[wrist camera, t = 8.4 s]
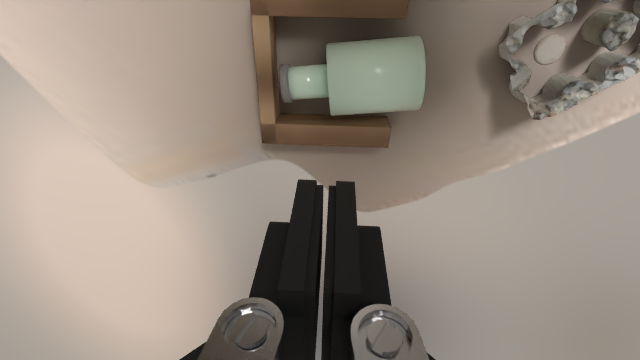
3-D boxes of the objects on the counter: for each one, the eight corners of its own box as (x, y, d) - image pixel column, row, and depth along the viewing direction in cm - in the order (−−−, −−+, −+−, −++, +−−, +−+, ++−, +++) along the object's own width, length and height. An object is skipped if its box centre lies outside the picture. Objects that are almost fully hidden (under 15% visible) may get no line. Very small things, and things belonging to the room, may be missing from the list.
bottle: (411, 35, 26) (284, 46, 27) (427, 35, 21) (272, 48, 22) (410, 103, 28) (291, 111, 29) (424, 116, 23) (281, 125, 24)
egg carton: (507, 107, 29) (529, 127, 25) (488, 21, 25) (511, 30, 22) (653, 51, 26) (701, 64, 22) (655, -57, 22) (712, -60, 19)
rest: (256, -17, 24) (248, -15, 22) (404, -14, 24) (410, -12, 22) (267, 131, 31) (262, 143, 29) (384, 135, 30) (388, 147, 28)
